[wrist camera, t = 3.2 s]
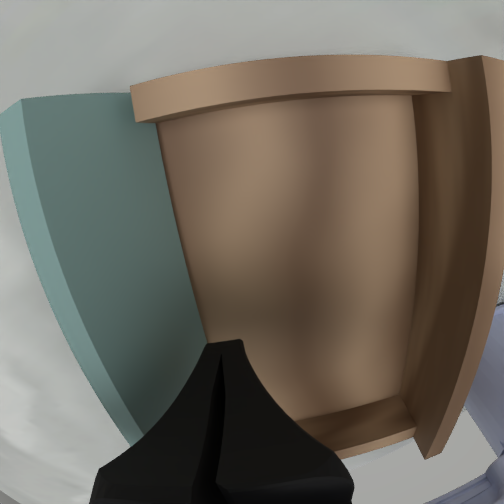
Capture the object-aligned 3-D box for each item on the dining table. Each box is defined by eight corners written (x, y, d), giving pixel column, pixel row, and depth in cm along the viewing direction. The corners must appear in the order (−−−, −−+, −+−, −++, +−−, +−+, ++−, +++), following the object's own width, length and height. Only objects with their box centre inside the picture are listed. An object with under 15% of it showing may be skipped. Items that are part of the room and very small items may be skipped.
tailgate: (150, 93, 11) (21, 99, 5) (240, 446, 18) (211, 523, 13) (125, 101, 11) (-3, 115, 6) (223, 444, 18) (191, 518, 13)
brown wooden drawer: (412, 74, 13) (504, 60, 7) (403, 386, 20) (441, 452, 14) (138, 103, 13) (72, 89, 7) (224, 425, 20) (225, 505, 14)
